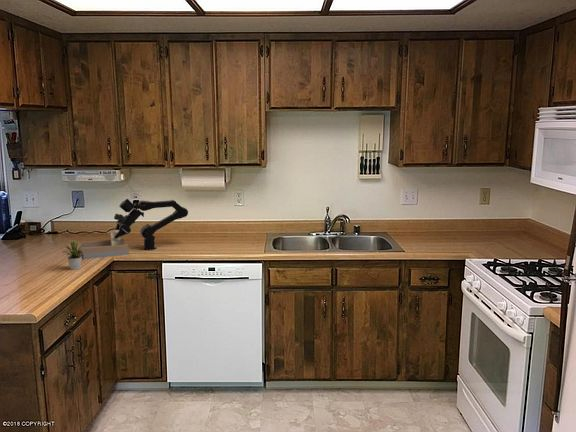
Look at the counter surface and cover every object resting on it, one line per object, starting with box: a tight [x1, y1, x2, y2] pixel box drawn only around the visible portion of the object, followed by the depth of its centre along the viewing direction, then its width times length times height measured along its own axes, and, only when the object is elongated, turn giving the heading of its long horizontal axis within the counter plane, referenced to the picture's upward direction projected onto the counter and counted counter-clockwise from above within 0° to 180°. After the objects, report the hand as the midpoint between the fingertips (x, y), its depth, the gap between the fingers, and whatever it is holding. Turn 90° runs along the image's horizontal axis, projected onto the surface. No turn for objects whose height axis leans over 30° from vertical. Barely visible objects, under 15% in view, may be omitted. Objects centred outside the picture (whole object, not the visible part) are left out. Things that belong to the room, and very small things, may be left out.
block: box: [109, 229, 121, 246], centre depth 297 cm, size 5×5×10 cm
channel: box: [80, 238, 130, 260], centre depth 295 cm, size 25×18×6 cm
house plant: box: [59, 238, 85, 271], centre depth 263 cm, size 14×14×16 cm
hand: (114, 236), depth 297 cm, fingers open, 9 cm apart
